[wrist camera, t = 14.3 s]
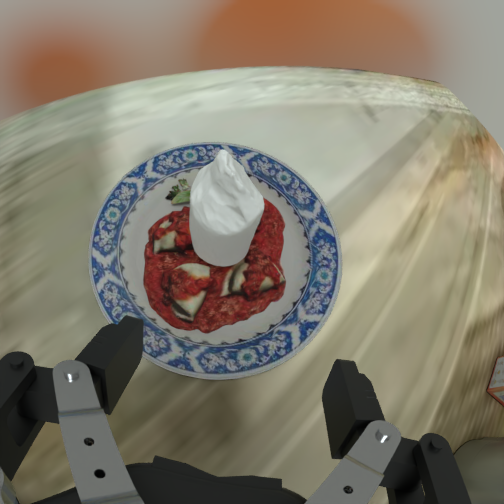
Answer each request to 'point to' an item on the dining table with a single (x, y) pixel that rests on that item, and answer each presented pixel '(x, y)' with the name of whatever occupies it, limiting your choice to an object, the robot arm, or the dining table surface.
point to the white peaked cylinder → (223, 211)
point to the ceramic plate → (215, 267)
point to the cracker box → (497, 381)
